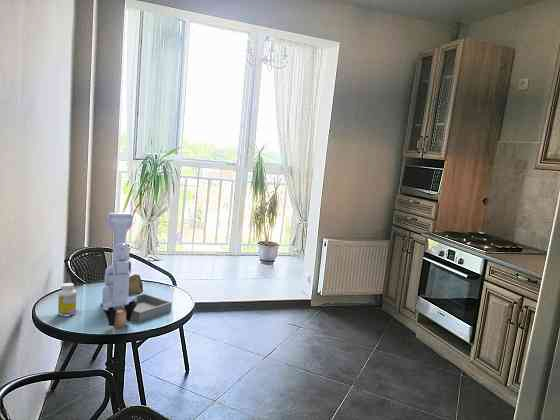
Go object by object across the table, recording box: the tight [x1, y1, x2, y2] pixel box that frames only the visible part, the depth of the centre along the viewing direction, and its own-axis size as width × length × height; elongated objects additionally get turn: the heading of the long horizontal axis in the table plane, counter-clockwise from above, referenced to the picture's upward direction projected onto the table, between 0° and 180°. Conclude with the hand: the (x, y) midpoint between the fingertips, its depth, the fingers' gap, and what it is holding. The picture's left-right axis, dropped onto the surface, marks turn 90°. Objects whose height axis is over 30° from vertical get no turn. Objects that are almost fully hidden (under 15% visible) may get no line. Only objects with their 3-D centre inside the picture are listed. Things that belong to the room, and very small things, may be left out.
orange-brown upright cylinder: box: [112, 310, 127, 330], centre depth 166 cm, size 5×5×6 cm
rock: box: [129, 274, 144, 294], centre depth 208 cm, size 11×9×10 cm
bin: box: [113, 293, 173, 323], centre depth 184 cm, size 18×18×4 cm
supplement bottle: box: [57, 282, 77, 316], centre depth 174 cm, size 7×7×13 cm
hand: (119, 322), depth 166 cm, fingers open, 7 cm apart
